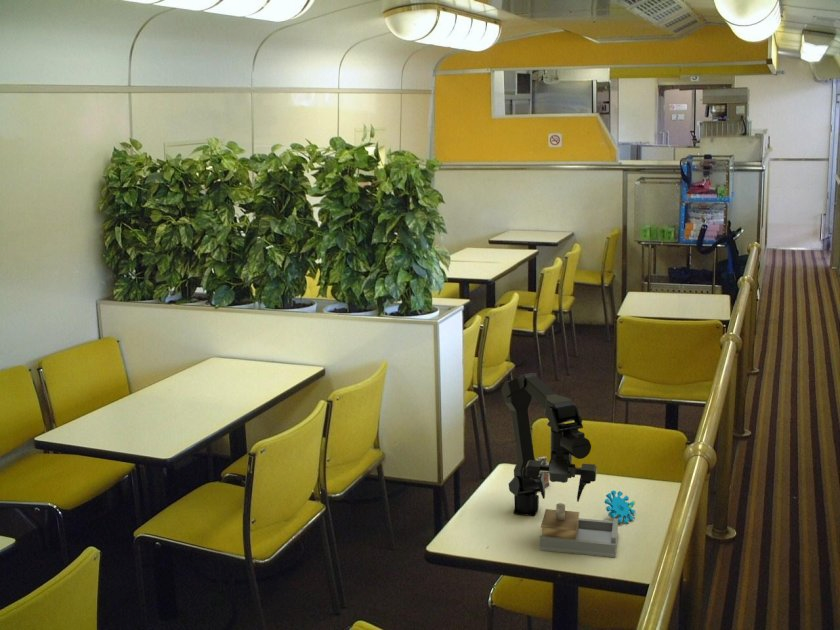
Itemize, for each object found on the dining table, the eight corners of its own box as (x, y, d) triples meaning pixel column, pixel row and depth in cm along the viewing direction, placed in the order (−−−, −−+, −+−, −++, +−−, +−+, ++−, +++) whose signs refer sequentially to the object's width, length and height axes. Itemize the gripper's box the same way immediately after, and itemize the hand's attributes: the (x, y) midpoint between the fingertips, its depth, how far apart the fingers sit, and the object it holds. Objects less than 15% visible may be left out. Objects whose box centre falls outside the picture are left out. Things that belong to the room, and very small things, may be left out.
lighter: (543, 482, 290) (543, 452, 287) (551, 485, 287) (552, 455, 285) (527, 490, 284) (527, 460, 282) (535, 493, 282) (536, 463, 279)
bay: (539, 549, 247) (539, 532, 246) (545, 526, 260) (545, 510, 259) (615, 557, 242) (615, 539, 241) (617, 533, 255) (618, 516, 254)
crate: (540, 542, 248) (541, 511, 246) (545, 525, 258) (545, 495, 256) (575, 545, 246) (576, 514, 244) (579, 528, 256) (579, 498, 253)
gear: (616, 523, 257) (602, 491, 262) (604, 532, 261) (590, 499, 266) (644, 519, 263) (630, 487, 268) (632, 527, 267) (618, 495, 272)
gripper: (522, 454, 241) (522, 509, 244) (594, 459, 236) (593, 515, 240) (528, 439, 251) (528, 492, 255) (597, 444, 246) (596, 497, 250)
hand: (560, 499), depth 249 cm, fingers open, 9 cm apart
